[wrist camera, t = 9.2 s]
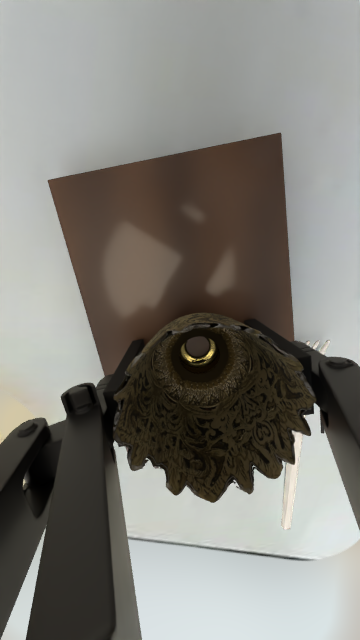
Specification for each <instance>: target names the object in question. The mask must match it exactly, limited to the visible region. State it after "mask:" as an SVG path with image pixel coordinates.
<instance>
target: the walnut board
mask: <svg viewBox="0 0 360 640" xmlns="http://www.w3.org/2000/svg"><path fill="white" fill-rule="evenodd" d="M48 183H49V187H50V190H51V194H52V197H53V200H54V204H55V207H56V211H57V214H58V217H59V221H60V224H61V228H62V231H63V235H64V238H65V241H66V245H67V248H68V252H69V255H70V258H71V262H72V265H73V269H74V272H75V275H76V279H77V282H78V286H79V289H80V293H81V296H82V299H83V303H84V306H85V310H86V313H87V316H88V320H89V323H90V327H91V330H92V334H93V337H94V340H95V344H96V347H97V351H98V354H99V357H100V361H101V364H102V368H103V371H104V375H105V376H106V375H110V374H114V372H115V370H116V369H117V367H118V365H119V363H120V362H121V360H122V358H123V357H124V355H125V353H126V351H127V350H128V348H129V346H130V344H131V343H132V341H134V340H140V339H143V340H144V345H145V346H146V345H147V344H148V342H149V341H150V340H151V339H152V338H153V337H154V336H155V335H156V334H157V333H158V332H159V331H160V330H161V329H162V328H163V327H164V326H166V325H167V324H169V323H170V322H172V321H173V320H175V319H178V318H180V317H182V316H185V315H189V314H194V313H214V314H219V315H223V316H226V317H229V318H232V319H234V320H236V321H239V322H241V323H243V324H244V320H249V319H256V320H258V321H259V322H261V323H262V324H264V325H265V326H267V327H268V328H270V329H271V330H273V331H275V332H276V333H278V334H279V335H281V336H282V337H284V338H285V339H287V340H288V341H294V328H293V312H292V296H291V280H290V265H289V249H288V233H287V217H286V201H285V186H284V170H283V154H282V138H281V133H277V134H272V135H267V136H262V137H257V138H252V139H247V140H242V141H237V142H233V143H228V144H223V145H218V146H213V147H208V148H203V149H198V150H193V151H188V152H183V153H178V154H174V155H169V156H164V157H159V158H154V159H149V160H144V161H139V162H134V163H129V164H124V165H119V166H115V167H110V168H105V169H100V170H95V171H90V172H85V173H80V174H75V175H70V176H65V177H60V178H56V179H51V180H48ZM186 349H187V352H188V353H189V354H190V355H191V356H194V357H201V356H203V355H205V354H206V353H207V352H208V350H209V342H208V340H207V339H206V338H205V337H202V336H198V337H193V338H191V339H189V340H188V341H187V344H186ZM126 450H127V452H128V448H127V447H126Z"/></svg>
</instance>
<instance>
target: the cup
mask: <svg viewBox="0 0 360 640" xmlns="http://www.w3.org/2000/svg"><path fill="white" fill-rule="evenodd" d="M198 336H202V337H205V338H206V339H207V340H208V342H209V350H208V352H207V353H206V354H205V355H203V356H201V357H194V356H191V355H190V354H189V353H188V352H187V349H186V344H187V341H188V340H189V339H191V338H193V337H198ZM302 370H304V368H303V366H302V364H301V363H300V362H299V360H298V359H296V358H295V357H294V356H293V355H292V354H290V353H288V352H286V351H285V350H283V349H282V348H280V347H279V346H278V345H277V344H276V343H274V341H273V340H272V339H271V338H269V337H267V336H265V335H263V334H262V333H261V332H260V331H258V330H256V329H253V328H251V327H249V326H247V325H245V324H243V323H241V322H239V321H236V320H234V319H232V318H229V317H226V316H223V315H219V314H214V313H194V314H189V315H185V316H182V317H180V318H178V319H175V320H173V321H172V322H170V323H169V324H167V325H166V326H164V327H163V328H162V329H161V330H160V331H159V332H158V333H157V334H156V335H155V336H154V337H153V338H152V339H151V340H150V341H149V342H148V344H147V345H146V346H145V347H144V348H143V350H142V351H141V352H140V353H139V354H138V355H137V356H136V357H135V358H134V359H133V360H132V362H131V363H130V365H129V366H128V368H127V369H126V371H125V374H126V376H125V378H124V380H123V381H122V383H121V384H120V386H119V387H118V389H117V390H116V392H115V394H114V400H116V401H117V403H118V407H117V411H116V414H115V418H114V424H113V438H114V440H115V441H116V442H117V443H118V444H120V445H122V446H126V447H127V448H128V453H127V459H128V463H129V466H130V469H131V470H132V471H136V470H139V469H142V468H143V467H144V466H145V463H147V461H149V460H150V461H151V463H152V465H153V467H154V468H159V467H160V468H162V469H164V470H165V474H166V488H167V489H168V490H170V491H171V492H172V493H173V494H174V495H176V496H177V495H179V494H180V493H181V492H182V491H183V489H184V488H185V486H186V485H187V487H188V488H189V489H190V490H191V491H192V492H193V493H194V494H195V495H196V496H198V497H200V498H202V499H205V500H207V501H210V502H211V503H214V502H216V501H217V500H219V498H220V497H221V496H222V495H223V494H224V492H225V491H226V490H227V487H228V486H229V485H230V484H231V483H233V482H234V481H233V480H235V481H236V482H237V483H238V485H239V487H240V490H243V491H244V492H247V493H248V494H251V493H252V492H253V490H254V487H253V486H254V484H253V483H254V477H253V475H254V471H253V470H254V468H255V469H257V470H258V471H259V472H260V473H262V474H263V475H264V476H266V477H267V478H271V479H276V478H278V477H279V476H280V475H281V471H282V469H283V465H282V461H284V462H287V463H289V464H292V465H295V449H294V443H295V437H294V435H293V433H292V431H295V432H297V433H298V432H299V433H300V434H305V435H307V436H311V431H310V428H309V425H308V423H307V421H306V419H305V418H304V415H303V413H304V412H305V411H307V410H308V409H311V408H312V406H313V404H314V403H315V402H316V396H315V393H314V391H313V390H312V388H311V386H310V384H309V383H308V381H307V379H306V377H305V376H304V374H303V373H302V372H301V371H302ZM123 399H124V402H123ZM146 458H148V459H149V460H145V459H146ZM253 465H254V466H255V467H253V470H252V466H253ZM252 471H253V475H252ZM236 482H234V484H235V483H236ZM236 487H237V486H236ZM239 487H237V488H239Z"/></svg>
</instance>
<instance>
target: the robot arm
mask: <svg viewBox="0 0 360 640" xmlns="http://www.w3.org/2000/svg"><path fill="white" fill-rule="evenodd" d="M244 324H245V325H247V326H249V327H251V328H253V329H256V330H258V331H260V332H261V333H262V334H263V335H265V336H267V337H269V338H271V339H272V340H273V341H274V343H276V344H277V345H278V346H279V347H280V348H282V349H283V350H285V351H286V352H288V353H290V354H292V355H293V356H294V357H295V358H296V359H298V360H299V362H300V363H301V364H302V366H303V368H304V370H302V371H301V372H302V373H303V374H304V376H305V377H306V379H307V381H308V383H309V384H310V386H311V388H312V390H313V391H314V393H315V396H316V402H315V403H316V404H317V405H318V406H319V407H320V420H321V433H324V429H325V432H326V435H327V438H328V441H329V444H330V447H331V449H332V452H333V455H334V458H335V461H336V464H337V467H338V469H339V472H340V475H341V478H342V481H343V484H344V487H345V490H346V492H347V495H348V498H349V501H350V504H351V507H352V510H353V512H354V515H355V518H356V521H357V524H358V527H359V530H360V367H359V366H358V364H357V363H355V362H354V361H352V360H349V359H346V358H341V357H326V356H325V355H323V354H321V353H320V352H318V351H315V349H313V348H310V346H308V345H306V344H305V343H302V342H298V341H288V340H287V339H285V338H284V337H282V336H281V335H279V334H278V333H276V332H275V331H273V330H271V329H270V328H268V327H267V326H265V325H264V324H262V323H261V322H259V321H258V320H256V319H249V320H244ZM144 347H145V345H144V340H143V339H140V340H134V341H132V343H131V344H130V346H129V348H128V350H127V351H126V353H125V355H124V357H123V358H122V360H121V362H120V363H119V365H118V367H117V369H116V370H115V372H114V374H110V375H106V376H105V377H104V378H103V379H101V380H100V382H99V383H98V385H97V386H96V388H95V385H94V384H93V383H83V384H79V385H77V386H74V387H72V388H70V389H69V390H67V391H66V392H64V393H63V394H62V396H61V400H62V403H63V405H64V408H65V411H66V414H67V417H66V420H64V421H61V422H58V423H56V424H53V425H50V426H48V424H47V421H46V419H45V418H35V419H32V420H28V421H26V422H24V423H22V424H21V425H20V426H18V427H17V428H15V429H14V430H13V431H12V432H11V433H10V434H9V435H8V436H7V437H6V439H5V440H4V441H3V442H2V443H1V444H0V639H1V637H2V635H3V632H4V630H5V627H6V625H7V622H8V620H9V617H10V614H11V612H12V610H13V607H14V605H15V602H16V599H17V597H18V595H19V592H20V589H21V587H22V584H23V582H24V580H25V577H26V575H27V572H28V570H29V567H30V565H31V562H32V560H33V557H34V555H35V552H36V550H37V547H38V544H39V542H40V540H41V537H42V534H43V532H44V530H45V527H46V532H45V537H44V543H43V548H42V554H41V559H40V564H39V570H38V576H37V581H36V586H35V592H34V597H33V603H32V608H31V614H30V620H29V625H28V630H27V636H26V640H142V637H141V630H140V623H139V616H138V609H137V602H136V595H135V588H134V580H133V573H132V566H131V559H130V553H129V545H128V538H127V531H126V524H125V517H124V510H123V503H122V496H121V489H120V482H119V475H118V468H117V461H116V454H115V450H114V447H113V443H114V438H113V424H114V418H115V414H116V411H117V407H118V403H117V401H116V400H114V394H115V392H116V390H117V389H118V387H119V386H120V384H121V383H122V381H123V380H124V378H125V376H126V374H125V371H126V369H127V368H128V366H129V365H130V363H131V362H132V360H133V359H134V358H135V357H136V356H137V355H138V354H139V353H140V352H141V351H142V350H143V348H144ZM123 402H124V399H123ZM309 414H314V404H313V406H312V408H311V409H308V410H307V411H305V412H304V413H303V415H309ZM118 446H119V447H121V446H122V445H120V444H118ZM23 479H24V480H25V482H26V483H25V484H24V486H23ZM46 525H47V526H46Z"/></svg>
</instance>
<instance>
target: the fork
mask: <svg viewBox="0 0 360 640" xmlns="http://www.w3.org/2000/svg"><path fill="white" fill-rule="evenodd" d="M299 342H300V341H299ZM319 342H320V341H319V340H318V341H316V342H315V343H314V344H313V346H312V347H311V348H313V349H315V350H316V348H317V346H318V344H319ZM309 343H310V341H307V342H306V343H305V344H306V345H309ZM329 343H330V340H327V341H326V342H325V344H324V345H323V346H322V347H321V349H320V350H319V351H318V352H320V353H321V354H323V355H324V354H325V352H326V349H327V347H328V345H329ZM305 417H306V415H304V418H305ZM292 433H293V435H294V437H295V443H294V449H295V465H292V464H289V463H286V475H285V486H284V498H283V509H282V521H281V526H282V527H283V529H290V527H291V519H292V512H293V505H294V497H295V490H296V483H297V475H298V468H299V460H300V453H301V446H302V438H303V434H300V433H299V432H298V433H297V432H295V431H292Z"/></svg>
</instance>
